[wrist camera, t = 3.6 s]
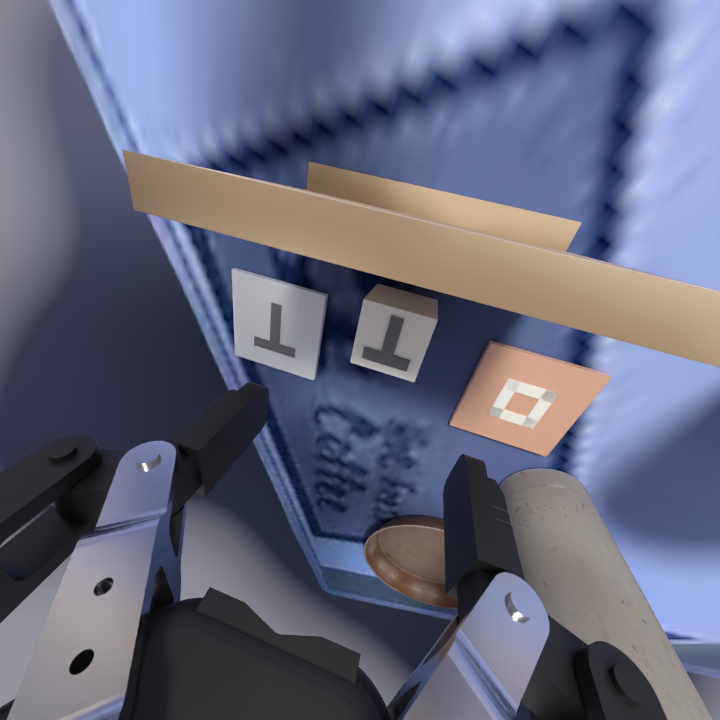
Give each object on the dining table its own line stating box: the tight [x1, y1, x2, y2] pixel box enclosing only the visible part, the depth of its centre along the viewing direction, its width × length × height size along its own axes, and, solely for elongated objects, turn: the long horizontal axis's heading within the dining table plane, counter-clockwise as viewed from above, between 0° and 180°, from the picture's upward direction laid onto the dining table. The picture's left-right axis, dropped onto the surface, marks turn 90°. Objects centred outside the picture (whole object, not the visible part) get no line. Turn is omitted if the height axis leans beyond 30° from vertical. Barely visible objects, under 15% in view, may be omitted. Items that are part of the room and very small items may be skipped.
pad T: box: [232, 268, 328, 381], centre depth 26 cm, size 9×9×1 cm
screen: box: [123, 150, 720, 367], centre depth 13 cm, size 5×18×14 cm, turn 78°
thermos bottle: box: [499, 468, 712, 720], centre depth 16 cm, size 8×8×28 cm
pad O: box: [449, 340, 611, 456], centre depth 23 cm, size 9×9×1 cm
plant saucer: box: [364, 515, 458, 609], centre depth 35 cm, size 18×18×3 cm
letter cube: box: [350, 284, 438, 382], centre depth 21 cm, size 5×5×5 cm
